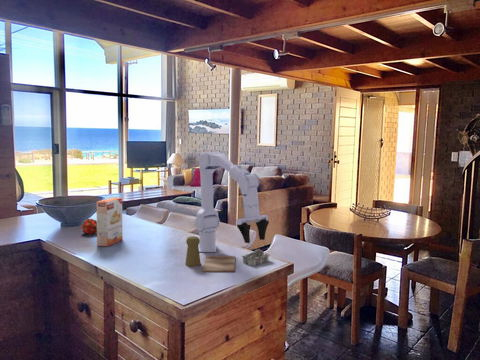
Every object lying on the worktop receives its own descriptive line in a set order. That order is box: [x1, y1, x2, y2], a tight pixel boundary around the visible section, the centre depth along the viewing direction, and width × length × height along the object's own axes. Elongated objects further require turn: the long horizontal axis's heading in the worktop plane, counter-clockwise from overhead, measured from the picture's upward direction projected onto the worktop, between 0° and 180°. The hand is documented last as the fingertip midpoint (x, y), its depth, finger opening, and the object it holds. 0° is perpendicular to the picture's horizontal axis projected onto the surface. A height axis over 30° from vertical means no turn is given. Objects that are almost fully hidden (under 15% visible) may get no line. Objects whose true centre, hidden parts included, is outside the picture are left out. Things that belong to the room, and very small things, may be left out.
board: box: [201, 255, 236, 273], centre depth 153 cm, size 18×12×1 cm, turn 0°
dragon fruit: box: [81, 218, 97, 236], centre depth 201 cm, size 8×8×12 cm
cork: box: [184, 235, 202, 268], centre depth 152 cm, size 6×6×11 cm
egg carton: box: [241, 248, 271, 266], centre depth 157 cm, size 11×8×4 cm
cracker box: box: [95, 197, 123, 247], centre depth 183 cm, size 14×6×21 cm, turn 168°
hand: (254, 241), depth 147 cm, fingers open, 7 cm apart
